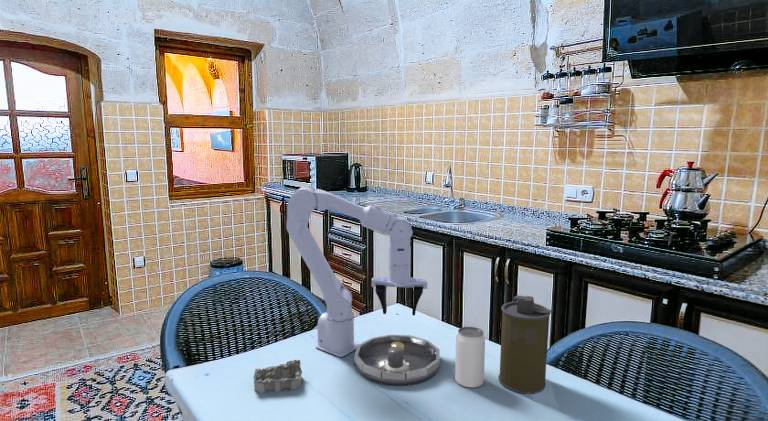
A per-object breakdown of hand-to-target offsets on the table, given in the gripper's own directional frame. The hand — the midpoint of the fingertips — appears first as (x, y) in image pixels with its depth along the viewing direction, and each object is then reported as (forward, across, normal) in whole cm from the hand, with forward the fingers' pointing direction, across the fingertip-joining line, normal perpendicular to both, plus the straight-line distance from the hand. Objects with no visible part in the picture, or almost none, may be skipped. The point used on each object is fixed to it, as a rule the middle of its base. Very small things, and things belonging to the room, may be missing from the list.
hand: (399, 313), depth 121 cm
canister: (+10, +30, -15) cm, 34 cm away
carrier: (+9, 0, -9) cm, 13 cm away
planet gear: (+8, 0, -15) cm, 17 cm away
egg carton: (+10, -26, -22) cm, 35 cm away
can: (+10, +17, -16) cm, 25 cm away
